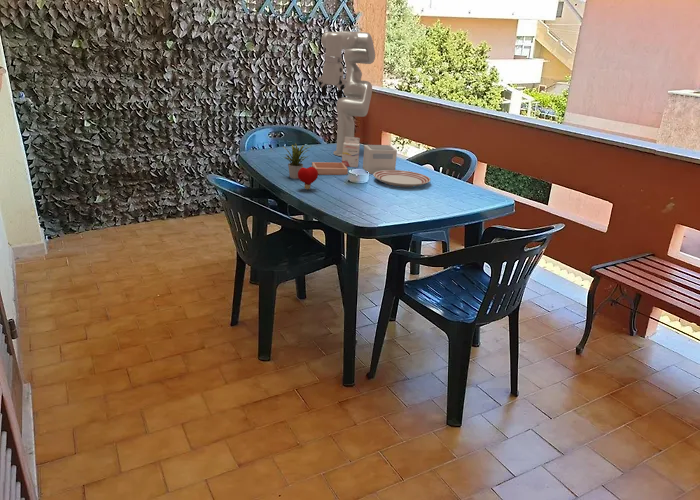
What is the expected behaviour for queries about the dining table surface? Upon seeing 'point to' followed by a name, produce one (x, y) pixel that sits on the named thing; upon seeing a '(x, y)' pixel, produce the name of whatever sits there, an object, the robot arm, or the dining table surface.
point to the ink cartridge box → (351, 152)
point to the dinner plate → (401, 178)
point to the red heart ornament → (308, 176)
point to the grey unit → (379, 158)
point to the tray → (330, 168)
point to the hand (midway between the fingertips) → (331, 97)
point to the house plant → (295, 161)
